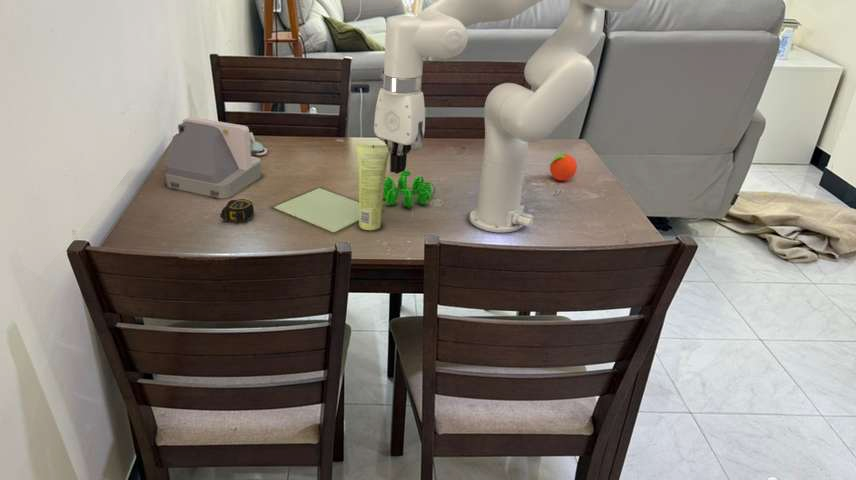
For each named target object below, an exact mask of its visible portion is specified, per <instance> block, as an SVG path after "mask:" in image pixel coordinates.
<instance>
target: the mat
mask: <svg viewBox="0 0 856 480" xmlns="http://www.w3.org/2000/svg"><path fill="white" fill-rule="evenodd" d="M273 209H275V210H278V211H280V212H282V213H284V214H287V215H290V216H293V217H294V218H297V219H299V220H302V221H304V222H307V223H310V224H311V225H315V226H316V227H319V228H322V229H324V230H326V231H329V232H331V233H337V232H339V231H341V230H344V229H345V228H347V227H349V226H351V225H353V224H355V223H359V201H356V200H354V199H351V198H348V197H345V196H343V195H340V194H337V193H334V192H331V191H329V190H326V189H324V188H322V187H321V188H320V187H318V188H316V189H313V190H312V191H309V192H306V193H305V194H302V195H298V196H297V197H294V198H292V199H290V200H287V201H285V202H282V203H280V204H277V205H275V206H273Z"/></svg>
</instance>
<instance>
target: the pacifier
mask: <svg viewBox="0 0 856 480" xmlns="http://www.w3.org/2000/svg"><path fill="white" fill-rule="evenodd" d="M249 136H250V150H251V156H256V157H258V156H260V157H261V156H264V155H266V154H267V153H268V149H267V148H266V147H264V146H263V144H262V143H261V142H259V141H256V140H255V139H256V138H255V136H254V133H253V132H252V131H249Z"/></svg>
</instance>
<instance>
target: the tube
mask: <svg viewBox="0 0 856 480" xmlns="http://www.w3.org/2000/svg"><path fill="white" fill-rule="evenodd" d="M355 155H356V165H357V179H358V202H359V221H358V226H359V228H360V229H361V230H365V231H376V230H379V229H380V228H381V225H382V214H383V213H382V211H383V210H382V209H383V201H384V199H383V192H384V183H385V180H386V178H385V177H386V176H387V175H386V174H387V167H388V160H389V155H390V153H389V152H388V147H387V145H386V144H365V143H363V144H362V143H355Z"/></svg>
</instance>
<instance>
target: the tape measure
mask: <svg viewBox="0 0 856 480" xmlns="http://www.w3.org/2000/svg"><path fill="white" fill-rule="evenodd" d="M254 213H255V209H254V204H253V202H252V201H251V200H249V199H245V198H238V199H231V200H229V201H228V202H227V203H226V205H225V206H224V207H223V209H222V210H221V212H220V213H219V215H220V216H219V217H220V219H222V220H223V221H225V222H226V221H227V222H229V221H232V222H245V221H248V220H250V219H251V218H253V216H254Z"/></svg>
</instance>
